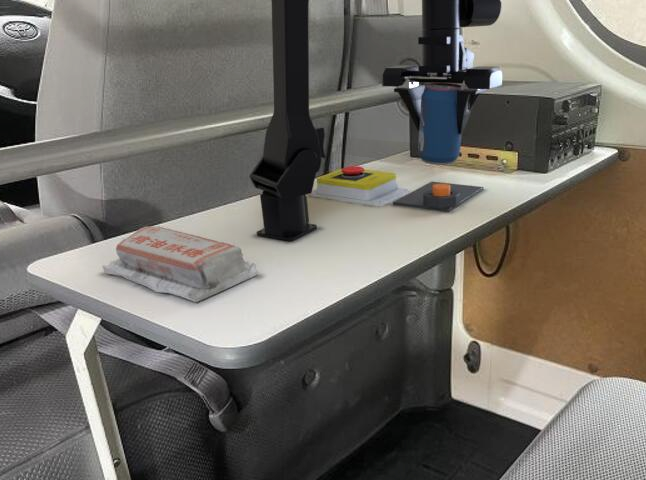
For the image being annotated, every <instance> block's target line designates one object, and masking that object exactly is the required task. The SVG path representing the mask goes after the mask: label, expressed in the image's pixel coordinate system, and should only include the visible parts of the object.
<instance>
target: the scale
mask: <svg viewBox="0 0 646 480" xmlns="http://www.w3.org/2000/svg"><path fill="white" fill-rule="evenodd" d="M435 184H448V185H450V195H448V196H434V195H433V185H435ZM484 188H485V187H484V186H477V185H469V184H467V185H466V184H459V183H450V182H440V181H429V182H428V183H426V184H424V185H422V186H420V187H419V188H417V189H414V190H413V191H411V192H408V193H407V194H406V195H403V196H401V197H399V198H397V199H395V200H393V201H392V206H398V207H406V208H414V209H420V210H421V209H422V210H429V211H437V212H443V213H450V212H452V211H453V210H455V209H456V208H458V207H460V206H461V205H463V204H464V203H466V202H467V201H469V200H470V199H472V198H474V197H476V196H477V195H478V194H479V193H482V192H483V191H484Z"/></svg>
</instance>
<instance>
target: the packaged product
mask: <svg viewBox="0 0 646 480" xmlns="http://www.w3.org/2000/svg"><path fill="white" fill-rule="evenodd" d="M115 250H116V251H115V253H116V255H117V256H118V258H117V259H115V260H112V261H110V262H109V264H106V265H104V264H102V265H101V266H102V269H103V272H104V273H105V274H109V275H113V276H117V277H123V278H125V279H127V280H128V281H132V282H134V283H136V284H138V285H141V286H144V287H146V288H149V290H152V291H153V292H156V293H165V294H170V295H173V296H178V297H181V298H184V299H186V300H189V301H191V302H193V303H198V302H200V301H202V300H204V299H207V298H209V297H211V296H214V295H215V294H218V293H220V292H223V291H224V290H227V289H229V288H231V287H234V286H236V285H238V284H240V283H242V282H244V281H247V280H249V279H251V278H253V277H256V276H258V273H257V272H258V271H257V267H256V263H255V262H254V263H251V262H249V261H246V260H244V258H243V256H244V254H243V252H242V249H241V248H240V246H236V245H232V244H231V243H226V242H222V241H218V240H215V239H210V238H206V237H202V236H200V235H194V234H190V233H186V232H183V231H177V230H174V229H171V228H166V227H163V226H153V225H152V226H148V225H146V226H144V227H141V228H139V229H137V231H135V232H134V233H132V234H130V235H129V236H128V237H126V238H124V239H122V240H121V241H120V242H119V243H117V244H116V247H115Z"/></svg>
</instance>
